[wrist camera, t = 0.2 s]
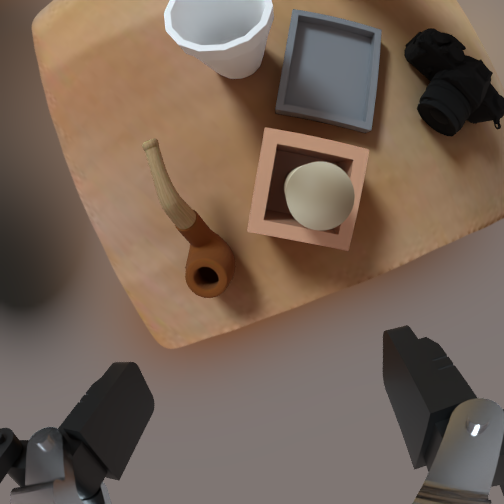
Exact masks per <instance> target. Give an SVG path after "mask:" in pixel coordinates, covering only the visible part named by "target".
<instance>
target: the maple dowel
mask: <svg viewBox="0 0 504 504" xmlns="http://www.w3.org/2000/svg"><path fill="white" fill-rule="evenodd" d="M283 187H284V192H285V197H286V201H287V205H288V208H289V210H290V212H291V214H292V216H293V217H294V218H295V219H296V220H297V221H298V222H299V223H300V224H301V225H303V226H305V227H307V228H309V229H313V230H329V229H332V228H335V227H337V226H339V225H340V224H341V223H343V222H344V221H345V220H346V219H347V217H348V216H349V214H350V213H351V211H352V208H353V205H354V199H355V194H354V188H353V184H352V182H351V180H350V178H349V177H348V175H347V174H346V173H345V172H344V171H343V170H342V169H341V168H339V167H338V166H336V165H334V164H332V163H328V162H319V161H318V162H312V163H308V164H305V165H303V166H300V167H297V168H294V169H292V170H291V171H290V172H289V173H288V174H287V175H286V177H285V179H284V184H283Z"/></svg>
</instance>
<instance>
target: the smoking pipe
mask: <svg viewBox="0 0 504 504" xmlns="http://www.w3.org/2000/svg"><path fill="white" fill-rule="evenodd" d="M142 147H143V149H144V151H145V153H146V156H147V160H148V164H149V167H150V171H151V174H152V178H153V181H154V184H155V188H156V191H157V195H158V198H159V201H160V204H161V206H162V208H163V209H164V211H165V212H166V214H167V215H168V216H169V218H170V219H171V220H172V221H173V223H174V224H175V226H176V228H177V229H178V231H179V232H180V233H181V234H182V235H183V236H184V237H185V238H186V239H187V240H188V241H189V243H190V250H189V254H188V259H187V263H186V276H185V277H186V282H187V285H188V287H189V288H190V289H191V290H192V292H194V293H195V294H196V295H198V296H201V297H204V298H213V297H216V296H218V295H220V294H221V293H223V292H224V291H225V289H226V288H227V287H228V285H229V284H230V282H231V280H232V278H233V275H234V272H235V258H234V255H233V253H232V251H231V249H230V247H229V246H228V245H227V243H226V242H225V241H224V240H223V239H222V238H221V237H220V236H219V235H217V234H216V233H214V232H213V231H212V230H210V228H209V227H208V226H207V225H206V223H205V222H204V221H203V220H202V218H201V217H200V216H199V215H198V213H197V212H196V211H195V210H192V209H191V208H190V207H189V206H188V205H187V204H186V202H185V201H184V200H183V199H182V198H181V197H180V196H179V194H178V193H177V191H176V190H175V188H174V186H173V184H172V182H171V180H170V178H169V175H168V173H167V171H166V168H165V165H164V162H163V159H162V155H161V152H160V149H159V143H158V140H157V139H151V140H149V141H146V142H144V143H143V145H142Z"/></svg>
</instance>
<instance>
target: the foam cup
mask: <svg viewBox="0 0 504 504" xmlns="http://www.w3.org/2000/svg"><path fill="white" fill-rule="evenodd" d="M164 19H165V28H166V31H167V33H168V34H169V35H170V36H171V37H172V38H173V39H174V40H175V41H176V43H177V44H178V45H179V46H180V47H181V48H182V49H183V51H184V52H185V53H186V54H189V55H192V56H194V57H196V58H197V59H199V60H200V61H201V62H203V63H204V64H206V65H207V66H209V67H210V68H211V69H213V70H214V71H216V72H217V73H218V74H220V75H222V76H225V77H227V78H229V79H242V78H245V77H247V76H249V75H252V74H253V73H254V72H255V71H256V70H257V69H258V68H259V67H260V65H261V62H262V59H263V56H264V51H265V46H266V41H267V37H268V34H269V31H270V28H271V25H272V22H273V19H274V14H273V5H272V1H271V0H170V1H169V3H168V6H167V8H166V10H165V12H164Z"/></svg>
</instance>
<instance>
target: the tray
mask: <svg viewBox="0 0 504 504" xmlns="http://www.w3.org/2000/svg"><path fill="white" fill-rule="evenodd" d="M380 45H381V30H380V29H377V28H374V27H370V26H367V25H363V24H360V23H356V22H353V21H349V20H345V19H341V18H336V17H332V16H328V15H323V14H318V13H313V12H307V11H301V10H295V9H293V11H292V17H291V23H290V28H289V34H288V40H287V45H286V51H285V57H284V62H283V68H282V74H281V79H280V85H279V91H278V97H277V102H276V108H275V112H276V114H281V115H287V116H292V117H298V118H303V119H308V120H313V121H317V122H322V123H327V124H331V125H335V126H339V127H344V128H348V129H352V130H356V131H359V132H363V133H367V132H369V131H371V129H372V122H373V115H374V107H375V99H376V90H377V81H378V70H379V59H380Z"/></svg>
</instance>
